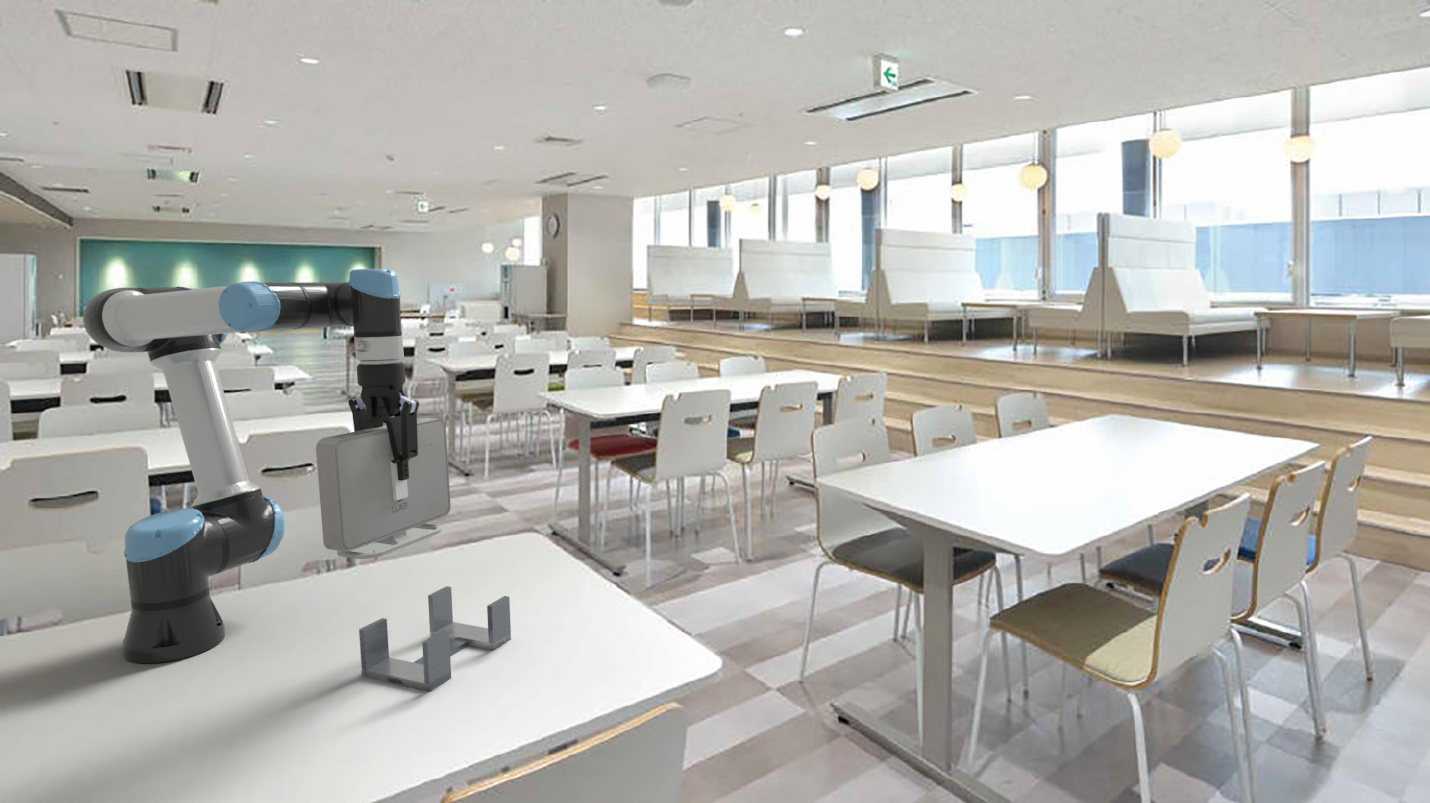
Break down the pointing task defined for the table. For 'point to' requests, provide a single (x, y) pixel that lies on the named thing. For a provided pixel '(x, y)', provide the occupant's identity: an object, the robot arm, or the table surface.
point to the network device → (380, 489)
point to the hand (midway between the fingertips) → (390, 497)
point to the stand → (432, 643)
